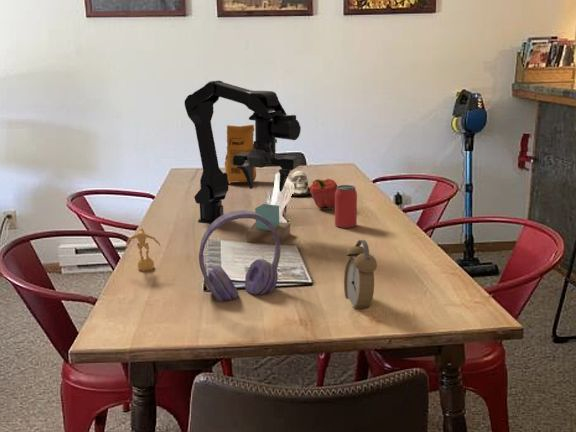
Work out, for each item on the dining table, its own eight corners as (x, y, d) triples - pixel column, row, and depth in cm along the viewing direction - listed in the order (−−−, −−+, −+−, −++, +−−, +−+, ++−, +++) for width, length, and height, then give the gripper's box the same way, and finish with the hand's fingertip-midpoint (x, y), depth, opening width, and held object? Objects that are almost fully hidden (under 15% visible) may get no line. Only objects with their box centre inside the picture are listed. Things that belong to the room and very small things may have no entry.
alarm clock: (341, 297, 141) (342, 233, 137) (363, 295, 142) (364, 231, 138) (356, 319, 130) (357, 250, 126) (379, 317, 131) (381, 248, 127)
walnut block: (246, 244, 178) (246, 231, 177) (257, 234, 188) (256, 221, 186) (281, 247, 176) (281, 233, 175) (290, 236, 185) (289, 223, 184)
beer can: (355, 229, 189) (356, 190, 186) (333, 228, 191) (333, 189, 187) (357, 222, 196) (358, 185, 192) (336, 222, 197) (336, 184, 193)
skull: (320, 192, 227) (299, 173, 224) (300, 212, 230) (279, 194, 227) (317, 181, 238) (298, 163, 235) (298, 200, 241) (278, 183, 238)
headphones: (207, 313, 134) (203, 222, 129) (197, 298, 142) (192, 212, 136) (287, 298, 141) (285, 211, 136) (273, 285, 148) (271, 202, 143)
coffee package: (226, 177, 260) (224, 123, 254) (256, 176, 260) (255, 122, 254) (224, 182, 250) (221, 126, 244) (255, 182, 250) (254, 126, 244)
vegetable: (323, 212, 207) (323, 183, 204) (301, 206, 214) (301, 177, 212) (346, 206, 214) (347, 177, 211) (325, 201, 221) (325, 172, 218)
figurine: (164, 268, 160) (161, 223, 156) (161, 277, 154) (157, 230, 151) (131, 269, 159) (127, 224, 156) (126, 278, 154) (122, 231, 150)
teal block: (255, 228, 179) (255, 208, 177) (263, 224, 183) (263, 203, 182) (271, 230, 177) (271, 210, 175) (279, 225, 182) (278, 205, 180)
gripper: (223, 139, 176) (225, 193, 181) (286, 143, 170) (286, 199, 175) (239, 133, 186) (240, 185, 191) (300, 136, 180) (299, 190, 185)
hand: (266, 190), depth 185 cm, fingers open, 9 cm apart
